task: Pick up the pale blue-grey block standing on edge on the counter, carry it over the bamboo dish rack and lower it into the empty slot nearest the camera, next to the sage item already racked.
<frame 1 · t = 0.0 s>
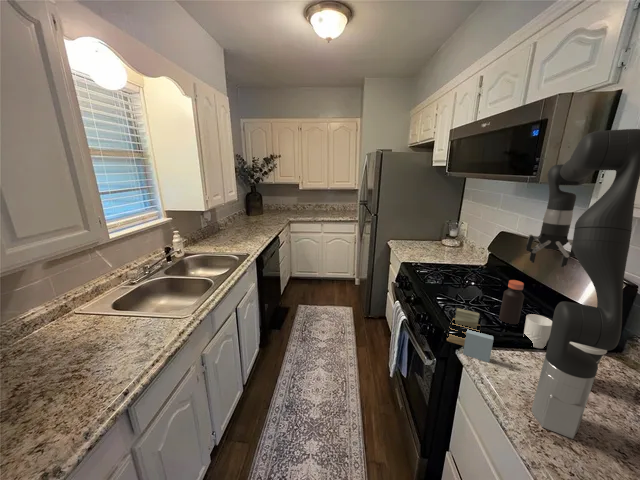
hand: (546, 264, 99), 29 cm above the worktop, fingers open, 8 cm apart
bottle: (507, 326, 110), on the worktop
white cup: (534, 343, 100), on the worktop
pale blue-grey block: (475, 356, 93), on the worktop
coffee cup: (573, 379, 82), on the worktop
dish rack: (464, 335, 104), on the worktop
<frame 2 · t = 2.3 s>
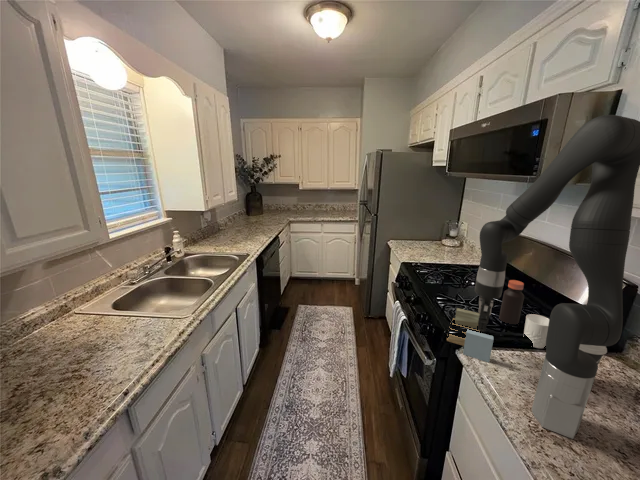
hand: (481, 324, 90), 13 cm above the worktop, fingers open, 8 cm apart
nothing on the worktop moved.
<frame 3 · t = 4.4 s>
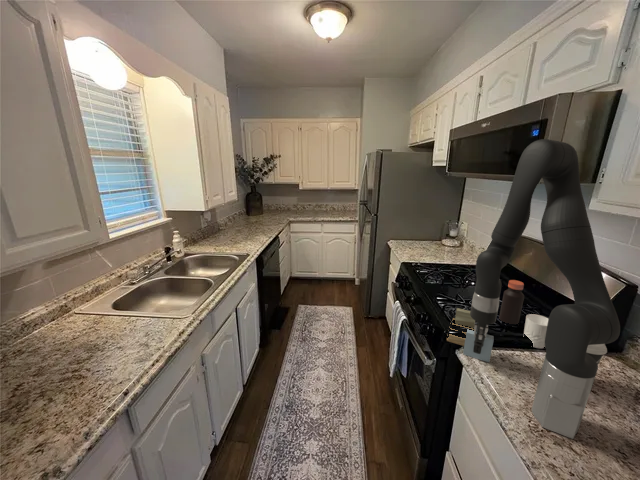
hand: (476, 350, 92), 3 cm above the worktop, fingers closed on pale blue-grey block, 2 cm apart
pale blue-grey block: (475, 356, 93), on the worktop, touching gripper
everything else where it was.
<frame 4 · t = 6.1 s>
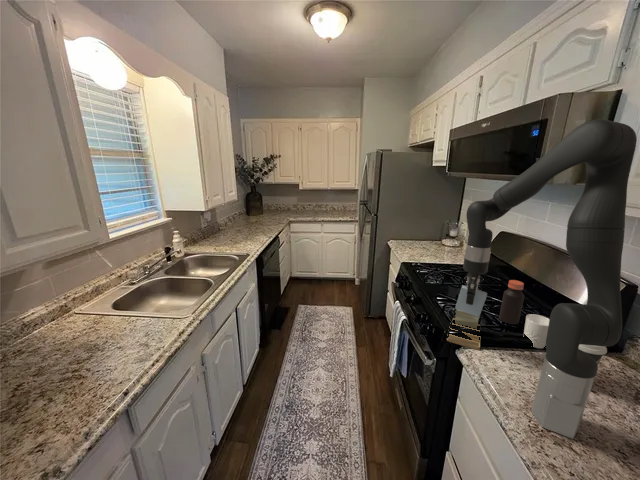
hand: (469, 302, 96), 17 cm above the worktop, fingers closed on pale blue-grey block
pale blue-grey block: (467, 311, 97), point 13 cm above the worktop, tilted 8°, touching gripper
everything else where it was.
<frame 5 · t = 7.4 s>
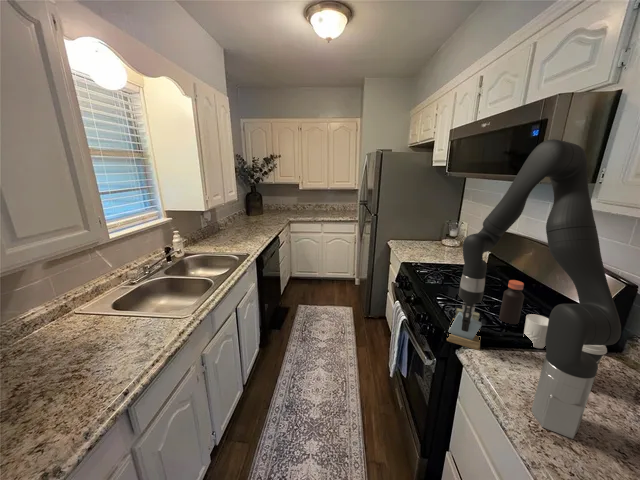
hand: (465, 328, 99), 6 cm above the worktop, fingers closed on pale blue-grey block, 2 cm apart
pale blue-grey block: (459, 336, 101), point 2 cm above the worktop, tilted 17°, touching dish rack, gripper
everything else where it was.
when the fingers open (5 cm above the worktop, at t = 8.2 s): pale blue-grey block stays where it is, resting on dish rack.
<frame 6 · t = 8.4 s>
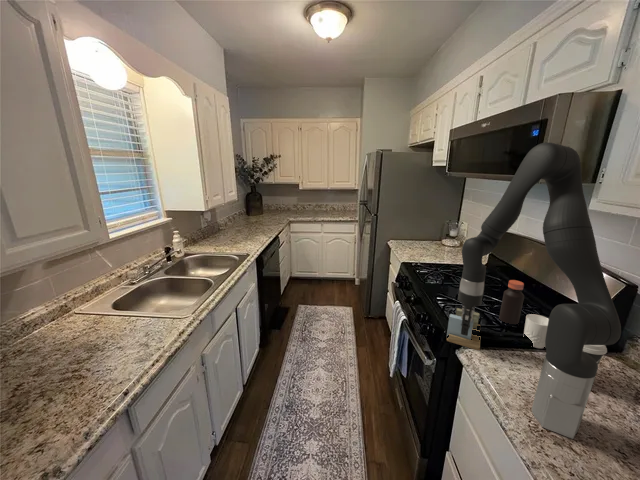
hand: (464, 331, 99), 5 cm above the worktop, fingers open, 4 cm apart
pale blue-grey block: (458, 338, 101), point 1 cm above the worktop, touching dish rack
everything else where it was.
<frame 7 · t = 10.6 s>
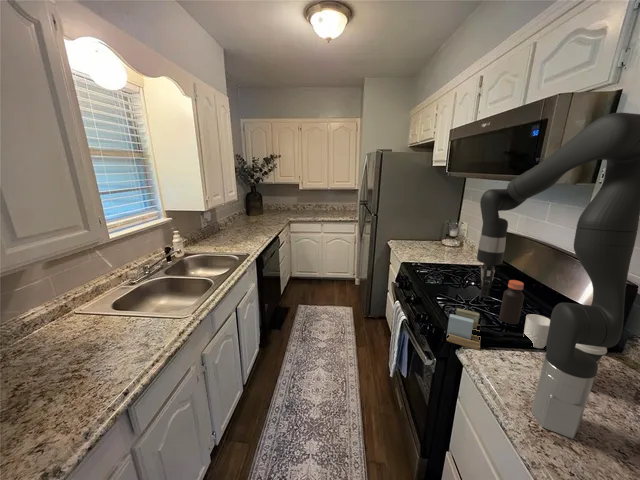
hand: (483, 292, 93), 22 cm above the worktop, fingers open, 8 cm apart
nothing on the worktop moved.
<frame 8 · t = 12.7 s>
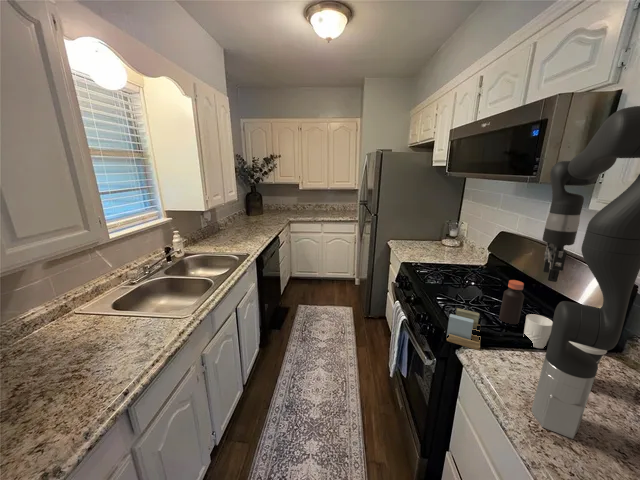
hand: (549, 276, 85), 30 cm above the worktop, fingers open, 8 cm apart
nothing on the worktop moved.
at the end: pale blue-grey block 1.8 cm from the target spot on the dish rack, point 0.6 cm above the dish rack's base; pale blue-grey block tilted 0°; the gripper is holding nothing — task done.
